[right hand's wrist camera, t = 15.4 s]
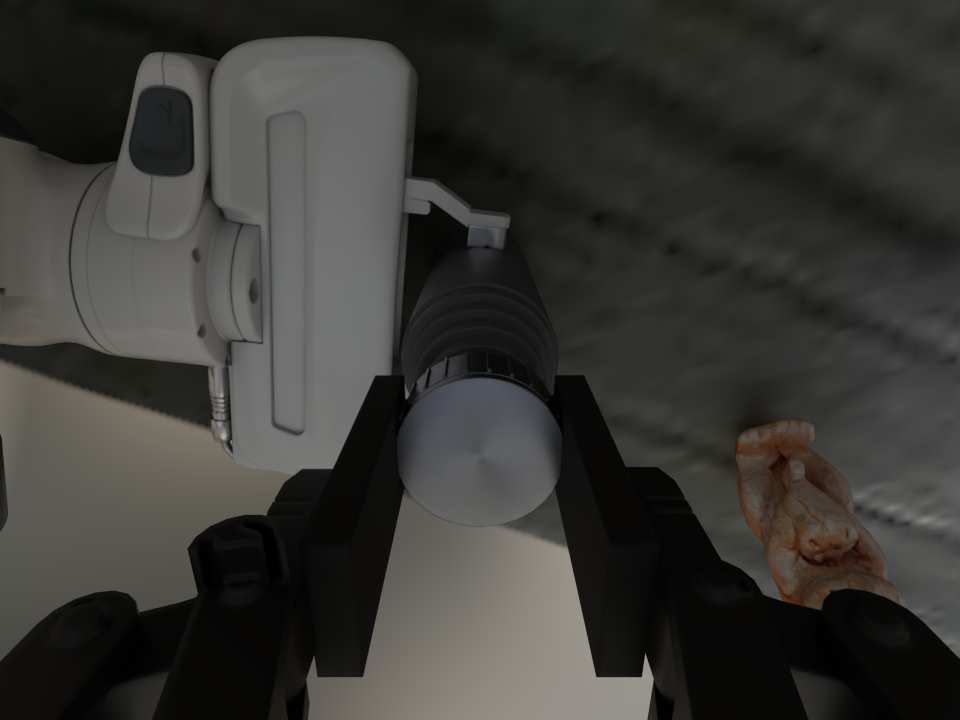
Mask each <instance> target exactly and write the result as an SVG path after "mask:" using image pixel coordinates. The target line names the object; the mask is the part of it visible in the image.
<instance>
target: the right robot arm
mask: <svg viewBox="0 0 960 720" xmlns="http://www.w3.org/2000/svg"><path fill="white" fill-rule="evenodd" d="M405 398H406V396H405V377H404V375H375V377H374V379H373V382H372V384H371V386H370V388H369V390H368V393H367V395H366V397H365V399H364V401H363V404H362V406H361V408H360V410H359V412H358V415H357V417H356V419H355V421H354V423H353V426H352V428H351V430H350V432H349V434H348V437H347V439H346V441H345V443H344V445H343V448H342V450H341V452H340V454H339V456H338V458H337V461H336V463H335V465H334V467H333V469H301V470H300V471H299V472H297V473H296V474H295V475H294V476H292V477H291V478H290V479H288V480H287V481H286V482H285V483H284V484H283V486H282V488H281V489H280V491H279V493H278V494H277V496H276V498H275V502H273V503H272V505H271V507H270V508H269V510H268V512H267V516H263V515H242V516H238V517H233V518H229V519H226V520H224V521H221V522H219V523H217V524H214V525H212V526H210V527H209V528H207V529H206V530H205V531H203V532H202V533H201V534H199V535H198V536H197V537H196V538H195V539H194V540H193V542H192V543H191V544H190V546H189V547H188V553H189V557H190V561H191V565H192V570H193V574H194V578H195V582H196V587H197V591H198V595H197V597H195V598H193V599H190V600H186V601H183V602H180V603H176V604H172V605H168V606H164V607H160V608H155V609H151V610H147V611H143V612H139V610H138V607H137V603H136V601H135V600H134V599H133V598H132V597H131V596H130V595H129V594H127V593H122V592H118V591H106V592H97V593H93V594H90V595H87V596H83V597H80V598H77V599H75V600H73V601H71V602H69V603H67V604H65V605H63V606H61V607H60V608H58V609H56V610H54V611H53V612H51V613H50V614H49V615H48V616H47V617H45V618H44V619H43V620H42V621H40V622H39V623H38V624H37V625H36V626H35V627H34V628H33V629H32V630H31V631H30V632H29V633H28V634H27V635H26V636H25V637H24V638H23V639H22V640H21V641H20V642H19V643H18V644H17V645H16V646H15V647H14V648H13V649H12V650H11V651H10V652H9V653H8V654H7V655H6V656H5V657H4V658H3V659H2V660H1V661H0V720H308V713H309V695H308V688H307V682H306V678H307V675H308V672H309V669H310V666H311V663H312V660H313V657H314V656H315V662H316V669H317V676H318V677H363V674H364V670H365V665H366V661H367V656H368V651H369V647H370V642H371V638H372V633H373V629H374V624H375V619H376V615H377V610H378V606H379V601H380V597H381V592H382V588H383V583H384V579H385V574H386V569H387V565H388V560H389V556H390V551H391V547H392V542H393V537H394V533H395V528H396V524H397V519H398V515H399V510H400V505H401V501H402V496H403V492H404V486H403V484H402V482H401V479H400V477H399V469H398V453H397V432H398V428H399V425H400V422H398V419H399V416H400V413H401V409H402V406H403V402H404V399H405ZM554 398H555V401H556V404H557V408H558V411H559V414H560V419H559V422H560V425H561V429H562V432H563V441H562V458H561V474H560V479H559V481H558V483H557V485H556V486H555V490H556V495H557V499H558V504H559V508H560V513H561V518H562V522H563V527H564V531H565V536H566V540H567V545H568V550H569V554H570V559H571V563H572V568H573V572H574V577H575V581H576V586H577V591H578V595H579V600H580V604H581V609H582V613H583V618H584V622H585V627H586V632H587V636H588V641H589V645H590V650H591V654H592V659H593V664H594V668H595V673H596V677H642V672H643V665H644V658H645V653H646V656H647V659H648V662H649V665H650V668H651V671H652V675H653V677H654V682H653V688H652V694H651V701H650V707H649V714H648V720H960V659H959V658H958V657H957V656H956V655H955V654H954V653H953V652H952V651H951V650H950V649H949V648H948V646H947V645H946V644H945V643H944V642H943V641H942V640H941V639H940V638H939V637H938V636H937V635H936V634H935V633H934V632H933V631H932V630H931V629H930V628H929V627H928V626H927V625H926V624H925V623H924V622H923V621H921V620H920V619H919V618H918V617H917V616H915V615H914V614H913V613H912V612H910V611H909V610H908V609H907V608H905V607H903V606H901V605H899V604H898V603H896V602H894V601H892V600H890V599H888V598H886V597H884V596H881V595H878V594H875V593H872V592H869V591H866V590H858V589H848V588H845V589H840V590H836V591H832V592H831V593H830V594H829V595H828V596H827V597H825V598H824V600H823V604H822V607H821V610H818V609H814V608H810V607H806V606H801V605H797V604H793V603H789V602H784V601H780V600H777V599H774V598H771V597H768V596H765V595H763V594H762V592H761V590H760V589H759V587H758V586H757V584H756V582H755V581H754V580H753V579H752V578H751V577H750V576H749V575H747V574H746V573H745V572H744V571H743V570H741V569H740V568H738V567H736V566H734V565H732V564H730V563H728V562H726V561H723V560H721V558H720V557H719V555H718V553H717V552H716V550H715V548H714V546H713V545H712V543H711V541H710V540H709V538H708V536H707V534H706V533H705V531H704V529H703V528H702V526H701V524H700V522H699V521H698V519H697V517H696V516H695V514H693V513H692V509H691V507H690V505H689V504H688V502H687V500H685V497H684V495H683V493H682V492H681V490H680V488H679V487H678V485H677V483H676V481H675V480H673V479H672V478H671V477H669V476H668V475H667V474H666V473H664V472H663V471H662V470H660V469H659V468H658V467H625V464H624V462H623V460H622V458H621V456H620V453H619V451H618V449H617V447H616V445H615V442H614V440H613V438H612V436H611V434H610V431H609V429H608V427H607V425H606V423H605V420H604V418H603V416H602V414H601V412H600V409H599V407H598V405H597V403H596V401H595V398H594V396H593V394H592V392H591V390H590V387H589V385H588V383H587V381H586V379H585V376H584V375H555V383H554Z"/></svg>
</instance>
